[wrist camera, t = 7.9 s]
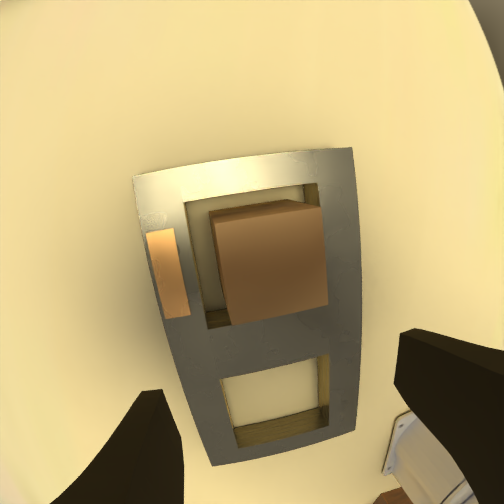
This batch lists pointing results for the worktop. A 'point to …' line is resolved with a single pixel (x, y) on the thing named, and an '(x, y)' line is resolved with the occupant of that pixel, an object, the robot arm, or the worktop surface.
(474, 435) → the robot arm
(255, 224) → the square peg
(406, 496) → the tissue box cover
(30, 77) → the worktop surface
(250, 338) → the socket plate
